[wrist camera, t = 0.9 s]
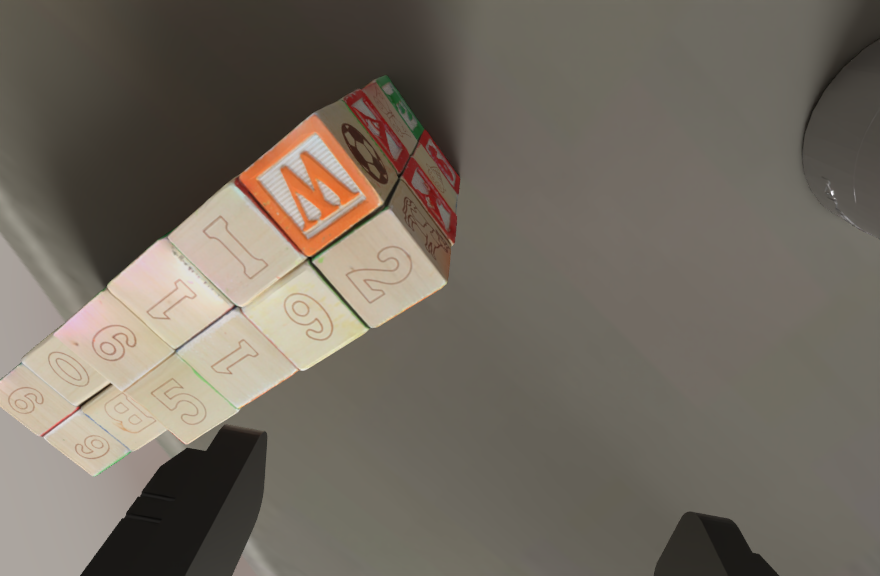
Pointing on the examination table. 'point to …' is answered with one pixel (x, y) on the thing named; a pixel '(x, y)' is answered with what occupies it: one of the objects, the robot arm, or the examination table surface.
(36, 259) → the examination table surface
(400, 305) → the stack of blocks
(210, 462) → the robot arm
